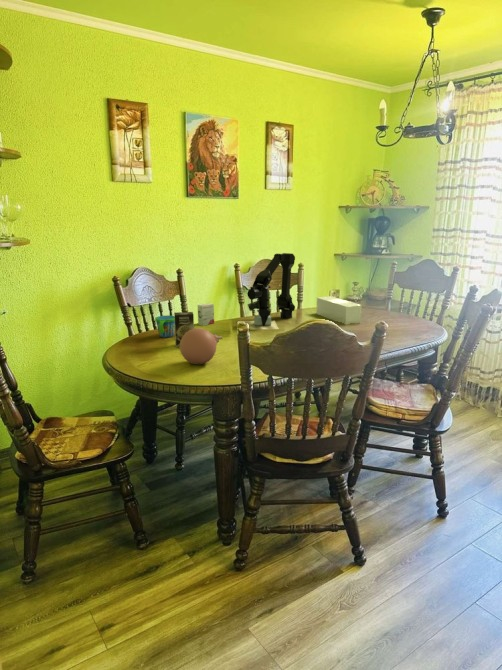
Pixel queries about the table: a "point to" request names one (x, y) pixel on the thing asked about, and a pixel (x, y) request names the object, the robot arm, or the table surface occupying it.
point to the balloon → (198, 345)
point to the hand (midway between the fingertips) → (263, 324)
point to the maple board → (253, 327)
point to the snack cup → (165, 325)
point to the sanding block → (259, 322)
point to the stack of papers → (339, 310)
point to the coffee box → (182, 325)
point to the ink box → (205, 314)
